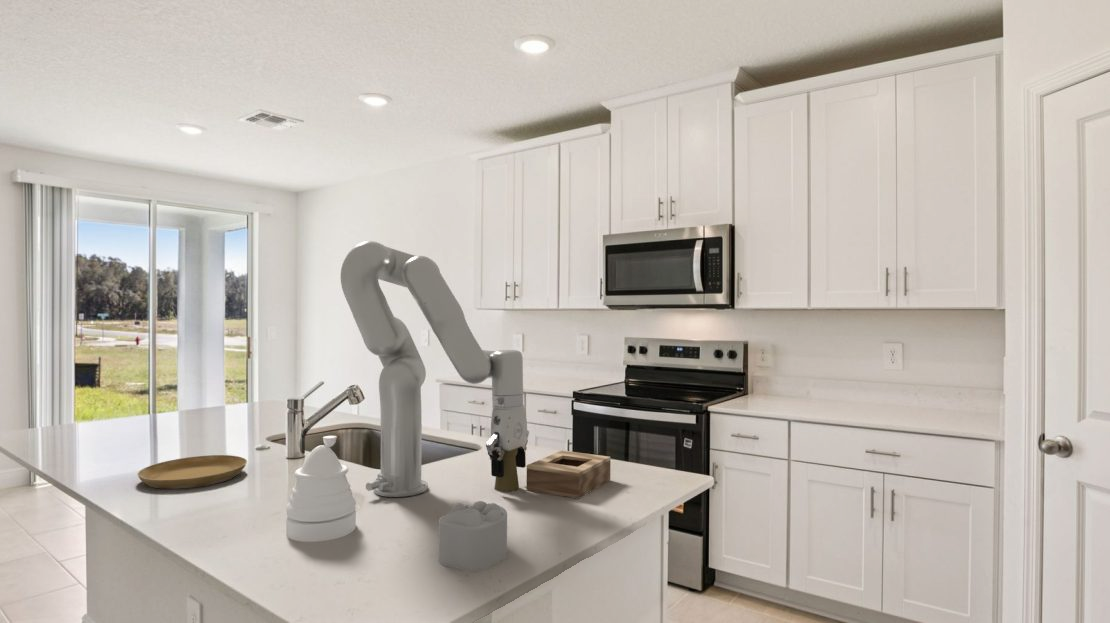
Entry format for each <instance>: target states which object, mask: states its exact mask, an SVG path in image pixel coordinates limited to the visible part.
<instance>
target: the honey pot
mask: <svg viewBox="0 0 1110 623" xmlns="http://www.w3.org/2000/svg"><path fill="white" fill-rule="evenodd" d="M337 437H338V436H336V435H325V436H323V437H322V440H323V445H322V444H321V445H318V446H316V447H314V448H313V449H312V450H311V451H310V452H309V454H308V455H307V457H306V458H305V460H304V462H303V464H302V467H300V468H297V469H296V470H295V471H294V477H295V478H296V481H295V484H294V486H293V487H292V489H291V492H292V493H291V494H290V496H289V497H290V498H289V502H288V503H287V505H286V509H285V511H286V514H285V516H286V519H285V522H286V524H285V525H286V526H285V527H286V528H285V529H286V530H285V535H286V537H287V538H288V539H289V540H292V541H296V542H301V543H314V542H315V543H316V542H318V543H319V542H326V541H332V540H336V539H339V538H343V537H345V536H347V535H349V534H351V533H352V532H355V529H356V525H357V522H356V521H357V520H356V519H357V518H356V517H357V516H356V512H357V511H356V497H355V496H354V495H353V491H352V489H351V482H349V481H348V479H347V476H346V474H347V473H348V472H349V467H348V466H347V465H345V464H342V463H341V462H340V460H339V457H338V456H337V454H336V453H335V452H334V451H333V450H332V448H331V447H333V446H334V445H335V443H336V441H337Z"/></svg>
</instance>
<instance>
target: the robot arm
mask: <svg viewBox="0 0 1110 623" xmlns="http://www.w3.org/2000/svg"><path fill="white" fill-rule="evenodd" d="M379 280H380V281H384V282H387V283H390V284H393V285H397V286H401V287H403V288H407V289H408V291H409V293H410V294H411V296H412V298H413V300H415V302H416V304H417V306H418V307H419V309H420V311H421V312H422V314H423V316H424V318H425V319H426V321H427V322H428V324H429V326H430V327H431V330H432V332H433V333H434V335H435V336H436V338H437V340H438V341H439V343H440V345H441V347H442V348H443V350H444V352H445V354H446V356H447V357H448V359H449V360H450V362H451V364H452V365H453V368H454V369H455V371H456V372H457V374H458V375H459V377H460V378H461V379H462V380H463V381H464V382H466V383H468V384H472V385H477V384H481V383H483V382H484V381H485V380H487V379H491V391H492V392H491V395H492V396H491V402H492V406H491V409H492V411H491V419H490V438H489V439H488V441H487V442H486V443H485V448H486V451H487V455H488V456H489V460H490V462H491V463H490V464H491V465H490V466H491V468H490V469H491V472H490V473H491V477H495V478H496V477H503V476H504V460H502V457H503V455H504V452H505V450H506V451H511V450H514V449H517V448H518V452H517V455H516V456H515V459H516V467H517V468H522V469H523V468H525V467H526V468H527V465H526V464H527V463H526V460H527V458H526V451H527V450H528V449H527V448H528V447H527V445H528V442H529V441H528V440H529V434H530V431H529V430H528V422H527V412H526V408H525V404H524V371H523V370H524V368H523V367H524V366H523V365H524V363H523V361H524V359H523V358H524V357H523V353H522V352H521V351H519V350H517V349H516V350H515V349H500V350H486V349H485V350H484V349H482V348H481V346H480V344H479V342H478V341H477V339H476V338H475V336H474V333H472V331H471V329H470V327H469V325H468V323H467V320H466V316H465V314H464V311H463V309H462V307H461V304H460V303H459V301H458V300H457V298H456V297H455V295H454V293H453V292H452V290H451V289H450V287H449V285H448V284H447V282H446V280H445V278H444V277H443V276H442V273H441V271H440V268H439V266H438V265H437V263H436V262H435V261H434V260H433V259H431V258H430V257H428V256H425V255H414V254H411V253H407V252H404V251H402V250H398V249H395V248H391V247H388V246H386V245H384V244H381V243H379V242H377V241H374V240H373V241H372V240H368V241H367V240H366V241H363V242H360V243H358V244H357V245H355V246H354V247H353V248H352V249H351V250H350V251H349V252H348V253H347V255H346V256H345V258H344V260H343V262H342V266H341V269H340V285H341V289H342V293H343V296H344V297H345V300H346V302H347V304H348V307H349V309H350V312H351V314H352V316H353V319H354V322H355V324H356V326H357V328H358V331H359V332H360V335H361V337H362V340H363V342H364V346H366V348H367V350H368V351H369V352H370V353H372V354H373V355H376V356H378V359H379V360H380V363H381V365H382V367H383V368H382V370H381V371H380V374H379V378H378V391H379V394H378V395H379V404H380V408H379V409H380V473H378V474H377V478H376V479H375V480H371V481H368V482H367V483H366V484H365V489H366V491H368V492H371V491H373V492H374V493H375V495H378V496H382V497H386V498H388V497H389V498H403V497H412V496H416V495H421V494H422V493H424V492H426V491H428V488H429V484H428V482H427V481H426V480H424V479H422V443H423V442H422V428H423V426H422V425H423V424H422V394H421V392H422V386H423V384H424V382H425V380H426V374H427V372H426V367H425V366H426V365H425V364H424V361H423V360H422V357H421V355H420V351H419V350H418V348H417V346H416V343H415V341H414V339H413V337H412V334H411V333H410V330H409V329H408V327H407V325H406V324H405V323H404V322H403V321H402V319H400V318H399V317H397V316H394V314H393V312H392V310H391V308H390V305H389V303H388V300H387V298H386V297H385V293H384V292H383V290H382V289H381V285H380V283H379ZM498 446H500V447H498ZM497 451H500V452H499V454H498V453H497Z"/></svg>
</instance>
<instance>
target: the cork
mask: <svg viewBox="0 0 1110 623" xmlns="http://www.w3.org/2000/svg"><path fill="white" fill-rule="evenodd" d="M498 447H500V446H498ZM499 452H500V451H497V453H498V454H499ZM517 452H518V448H517V449H514V450H511V451H506V450H505V452H504V455H503V457H502V460H504V476H503V477H495V481H494V490H495V491H497V492H502V493H509V492H511V493H512V492H515V491H518V490H519V489H520V484H519V475H518V467H516V459H515V456H516V455H517Z"/></svg>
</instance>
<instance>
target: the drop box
mask: <svg viewBox="0 0 1110 623" xmlns="http://www.w3.org/2000/svg"><path fill="white" fill-rule="evenodd" d="M610 481H611V456H607V455H599V454H591V453H583V452H577V451H568V450H560V451H557V452H555V453H553V454H551V455H548V456H546V457H543V458H541V459H538V460H535V461H533V462H531V463H528V464H527V465H526V491H530V492H534V493H535V492H536V493H540V492H541V494H547V495H553V496H558V497H564V496H567V497H566V498H570V497H573V498H572V499H576V498H579V499H581V498H583V497H585V496H586V495H587V493H588V494H589V492H590V491H591V492H593V491H595V490H597V489H598V488H599V486H600V487H602V486H603V485H605V484H607V483H609V482H610ZM606 482H607V483H606ZM604 483H605V484H604ZM601 485H602V486H601ZM597 487H598V488H597ZM594 489H595V490H594ZM592 490H593V491H592ZM591 492H590V493H591ZM585 494H586V495H585ZM582 496H583V497H582ZM580 497H581V498H580Z"/></svg>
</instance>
